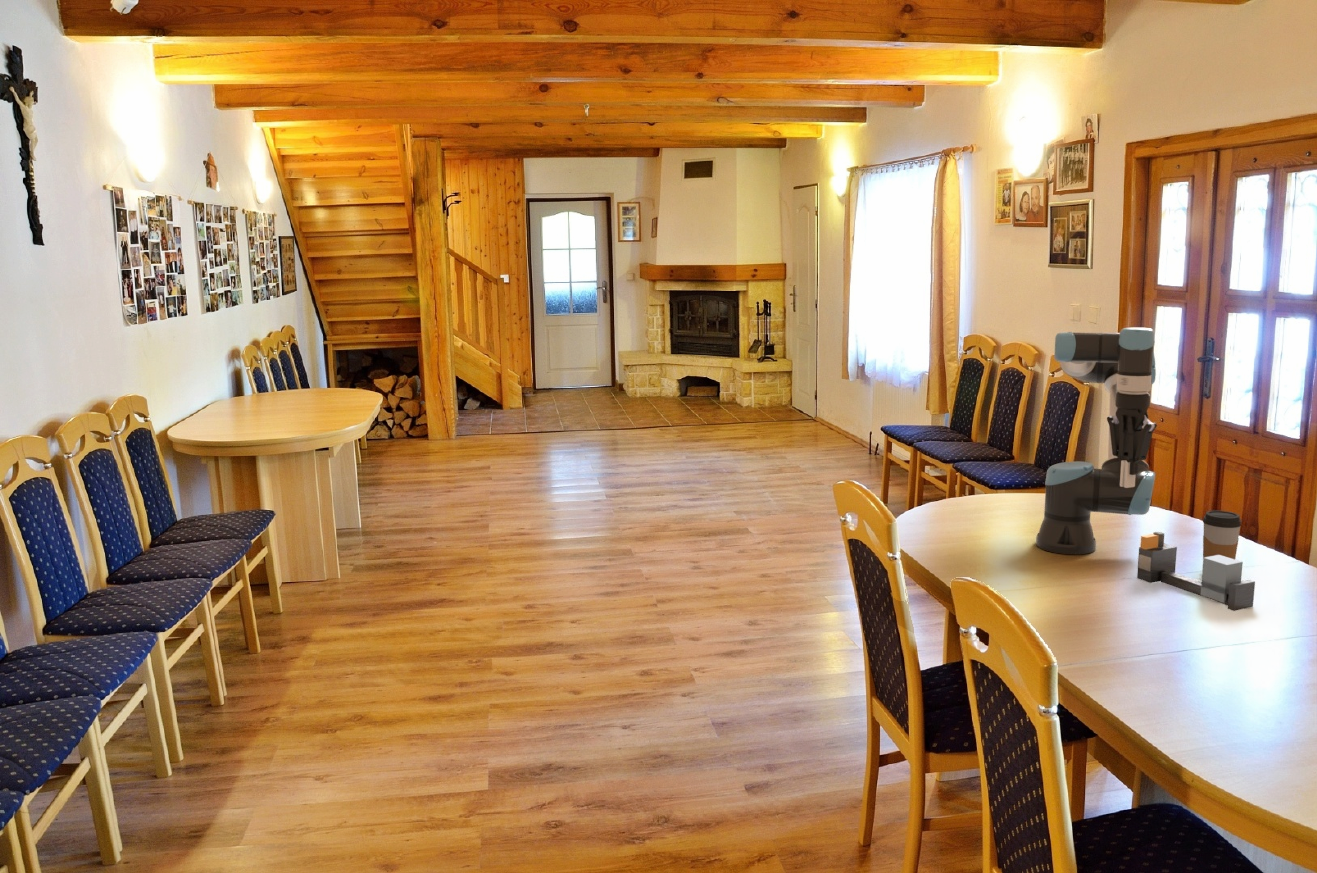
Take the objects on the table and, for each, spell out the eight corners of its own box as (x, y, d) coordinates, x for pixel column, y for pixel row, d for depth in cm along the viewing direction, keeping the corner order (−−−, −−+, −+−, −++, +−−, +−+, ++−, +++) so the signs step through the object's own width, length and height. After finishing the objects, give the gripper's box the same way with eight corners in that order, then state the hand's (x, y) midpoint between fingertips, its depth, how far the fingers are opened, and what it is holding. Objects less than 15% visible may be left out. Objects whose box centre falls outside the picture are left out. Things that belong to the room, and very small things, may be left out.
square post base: (1227, 608, 221) (1229, 583, 220) (1246, 604, 224) (1248, 579, 222) (1234, 611, 220) (1236, 585, 219) (1252, 606, 222) (1255, 581, 221)
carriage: (1200, 594, 228) (1203, 557, 226) (1215, 591, 230) (1218, 554, 228) (1223, 603, 223) (1226, 565, 221) (1239, 599, 224) (1242, 561, 223)
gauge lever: (1138, 547, 240) (1139, 534, 240) (1157, 544, 242) (1158, 531, 242) (1146, 550, 238) (1147, 537, 237) (1165, 546, 240) (1166, 534, 240)
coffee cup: (1242, 578, 241) (1247, 519, 238) (1205, 577, 242) (1209, 518, 240) (1230, 567, 249) (1235, 510, 246) (1194, 566, 250) (1198, 509, 248)
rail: (1160, 582, 240) (1161, 572, 239) (1167, 580, 241) (1168, 570, 240) (1231, 606, 222) (1232, 596, 222) (1239, 605, 223) (1240, 594, 223)
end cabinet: (1136, 578, 243) (1138, 547, 241) (1160, 573, 246) (1163, 542, 244) (1150, 583, 239) (1152, 551, 238) (1174, 578, 242) (1176, 547, 241)
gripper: (1099, 389, 243) (1094, 482, 248) (1145, 396, 231) (1138, 494, 235) (1122, 387, 246) (1116, 479, 250) (1168, 394, 233) (1161, 490, 238)
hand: (1127, 486), depth 243 cm, fingers closed
